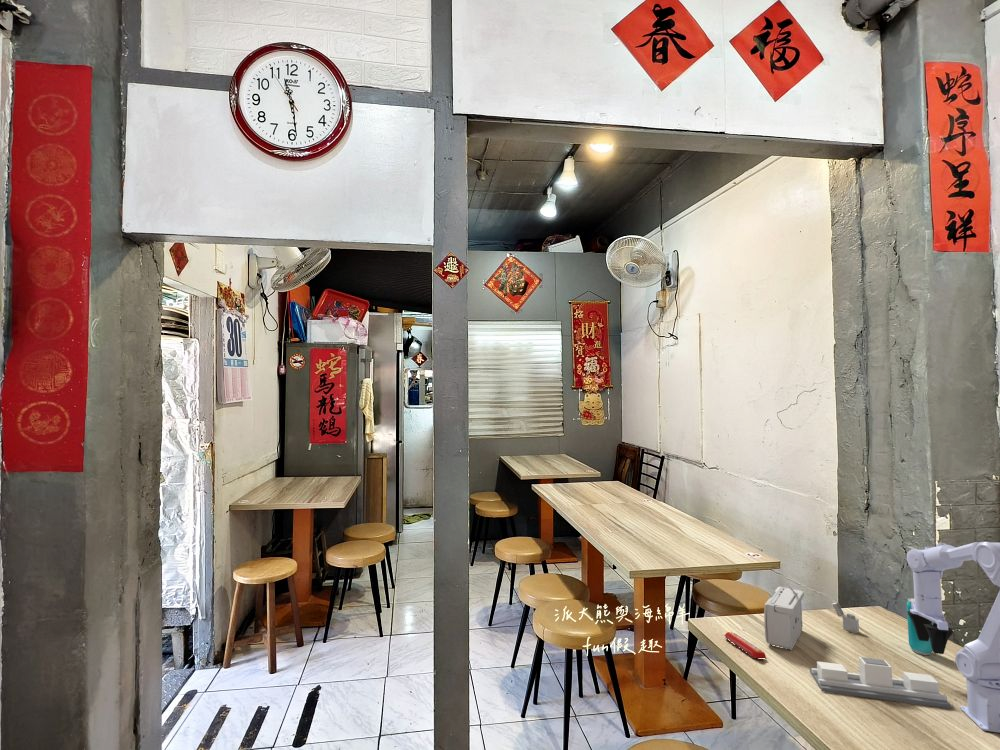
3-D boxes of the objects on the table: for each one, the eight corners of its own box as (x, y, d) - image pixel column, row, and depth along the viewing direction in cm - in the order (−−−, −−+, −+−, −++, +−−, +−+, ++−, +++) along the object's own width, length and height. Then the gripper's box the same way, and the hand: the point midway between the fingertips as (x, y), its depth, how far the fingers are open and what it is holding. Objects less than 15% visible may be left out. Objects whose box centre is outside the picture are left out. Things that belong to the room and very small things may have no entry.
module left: (848, 685, 134) (847, 671, 134) (822, 682, 135) (821, 668, 136) (842, 677, 138) (841, 664, 138) (817, 674, 139) (816, 661, 140)
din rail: (951, 708, 125) (950, 700, 125) (821, 691, 133) (821, 683, 133) (929, 687, 135) (929, 679, 135) (810, 672, 142) (809, 665, 143)
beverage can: (938, 657, 151) (935, 605, 152) (916, 655, 152) (913, 603, 153) (926, 648, 157) (923, 598, 158) (905, 646, 158) (902, 596, 159)
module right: (939, 697, 128) (938, 682, 128) (911, 693, 130) (910, 679, 130) (930, 688, 132) (930, 675, 132) (903, 685, 134) (902, 671, 134)
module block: (892, 691, 131) (891, 666, 131) (865, 687, 133) (864, 663, 133) (886, 683, 135) (884, 659, 135) (859, 679, 136) (858, 656, 137)
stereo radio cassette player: (778, 624, 174) (776, 564, 176) (806, 630, 169) (803, 569, 171) (764, 646, 158) (761, 580, 160) (794, 654, 153) (791, 586, 154)
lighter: (859, 632, 168) (858, 607, 169) (857, 633, 167) (856, 608, 167) (834, 624, 174) (833, 600, 174) (833, 626, 173) (831, 602, 173)
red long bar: (768, 662, 149) (768, 651, 149) (758, 663, 148) (757, 653, 148) (732, 638, 164) (732, 628, 165) (722, 639, 164) (722, 629, 164)
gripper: (897, 584, 146) (900, 633, 146) (923, 603, 133) (926, 657, 132) (927, 587, 144) (929, 636, 144) (956, 606, 131) (960, 660, 130)
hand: (930, 646), depth 137 cm, fingers open, 7 cm apart
